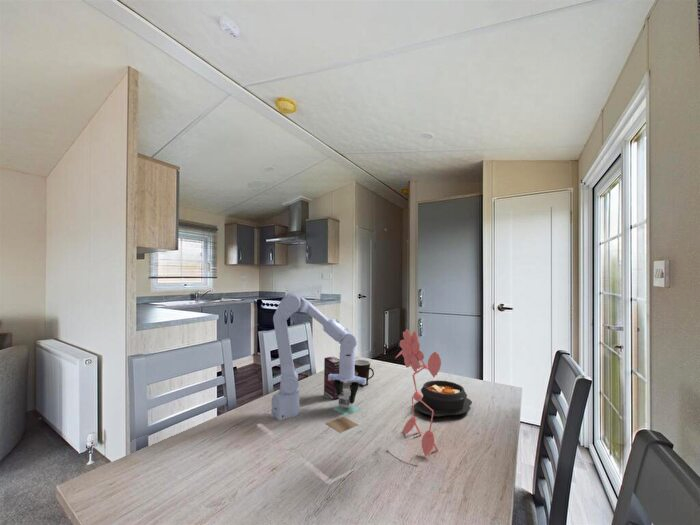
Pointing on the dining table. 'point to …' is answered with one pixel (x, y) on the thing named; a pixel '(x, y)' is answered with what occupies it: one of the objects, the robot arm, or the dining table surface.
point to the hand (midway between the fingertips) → (346, 401)
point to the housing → (345, 399)
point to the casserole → (443, 399)
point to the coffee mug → (363, 370)
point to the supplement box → (329, 368)
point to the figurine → (413, 357)
